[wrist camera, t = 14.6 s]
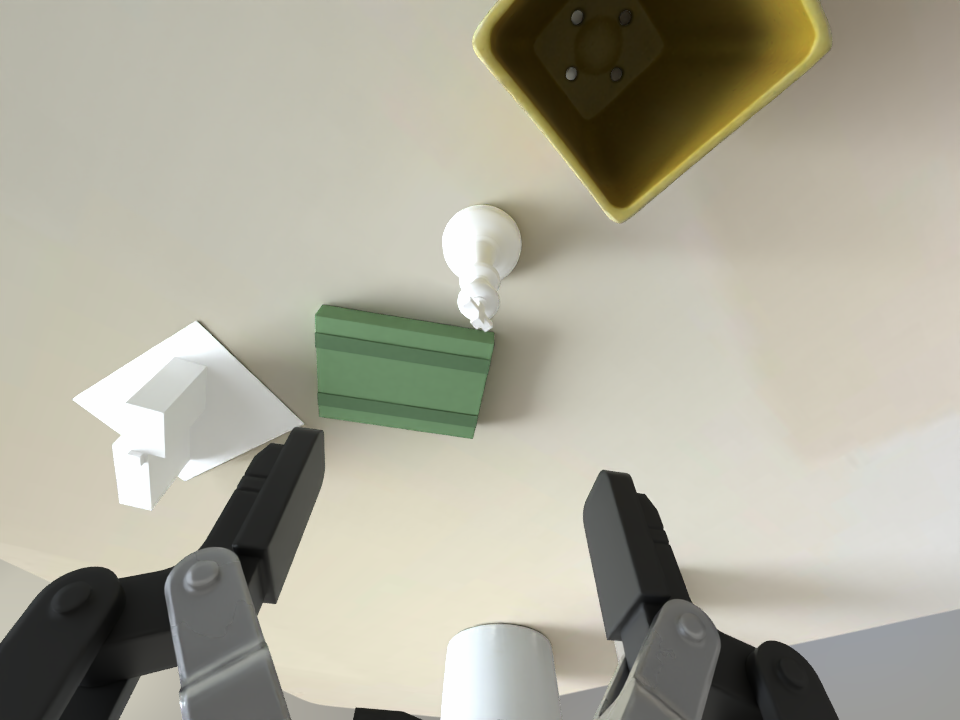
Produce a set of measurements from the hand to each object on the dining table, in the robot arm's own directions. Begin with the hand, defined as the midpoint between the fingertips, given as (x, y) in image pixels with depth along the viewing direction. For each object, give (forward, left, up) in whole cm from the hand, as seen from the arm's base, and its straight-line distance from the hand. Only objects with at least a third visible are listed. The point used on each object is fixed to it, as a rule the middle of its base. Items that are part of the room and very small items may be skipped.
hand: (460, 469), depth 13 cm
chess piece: (0, 0, -18) cm, 18 cm away
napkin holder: (-21, -18, -18) cm, 33 cm away
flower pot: (+4, +11, -18) cm, 22 cm away
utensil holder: (+12, -53, -18) cm, 57 cm away
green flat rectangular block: (-4, -10, -18) cm, 21 cm away
